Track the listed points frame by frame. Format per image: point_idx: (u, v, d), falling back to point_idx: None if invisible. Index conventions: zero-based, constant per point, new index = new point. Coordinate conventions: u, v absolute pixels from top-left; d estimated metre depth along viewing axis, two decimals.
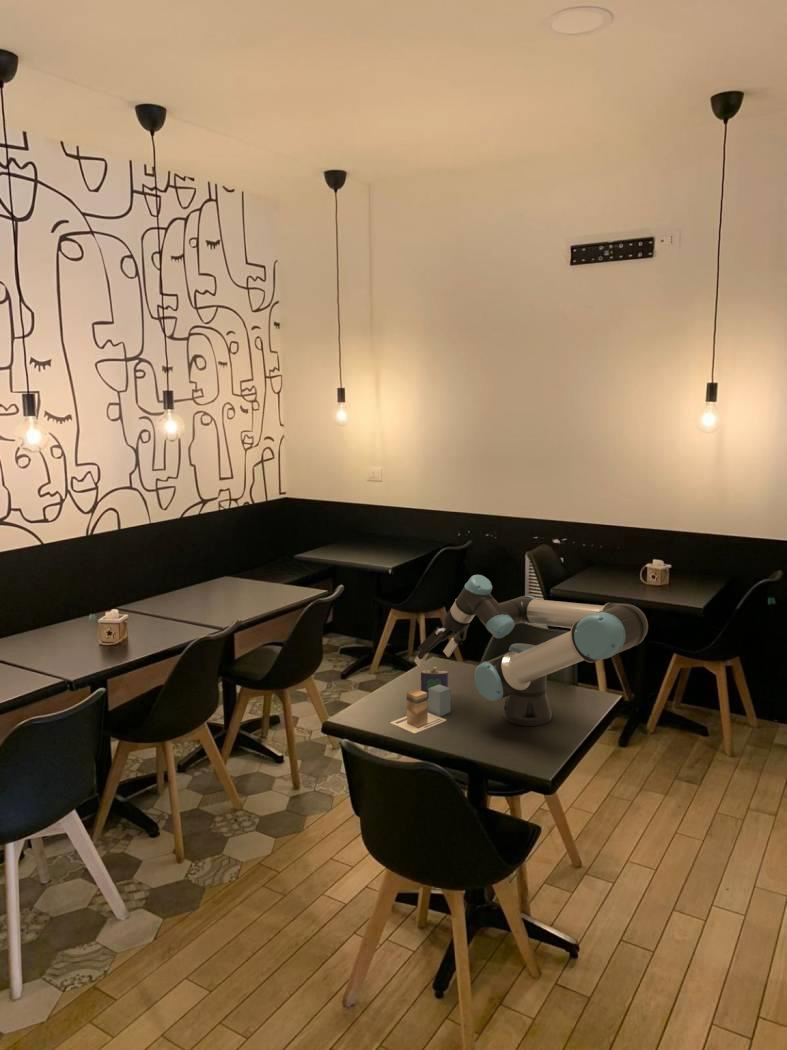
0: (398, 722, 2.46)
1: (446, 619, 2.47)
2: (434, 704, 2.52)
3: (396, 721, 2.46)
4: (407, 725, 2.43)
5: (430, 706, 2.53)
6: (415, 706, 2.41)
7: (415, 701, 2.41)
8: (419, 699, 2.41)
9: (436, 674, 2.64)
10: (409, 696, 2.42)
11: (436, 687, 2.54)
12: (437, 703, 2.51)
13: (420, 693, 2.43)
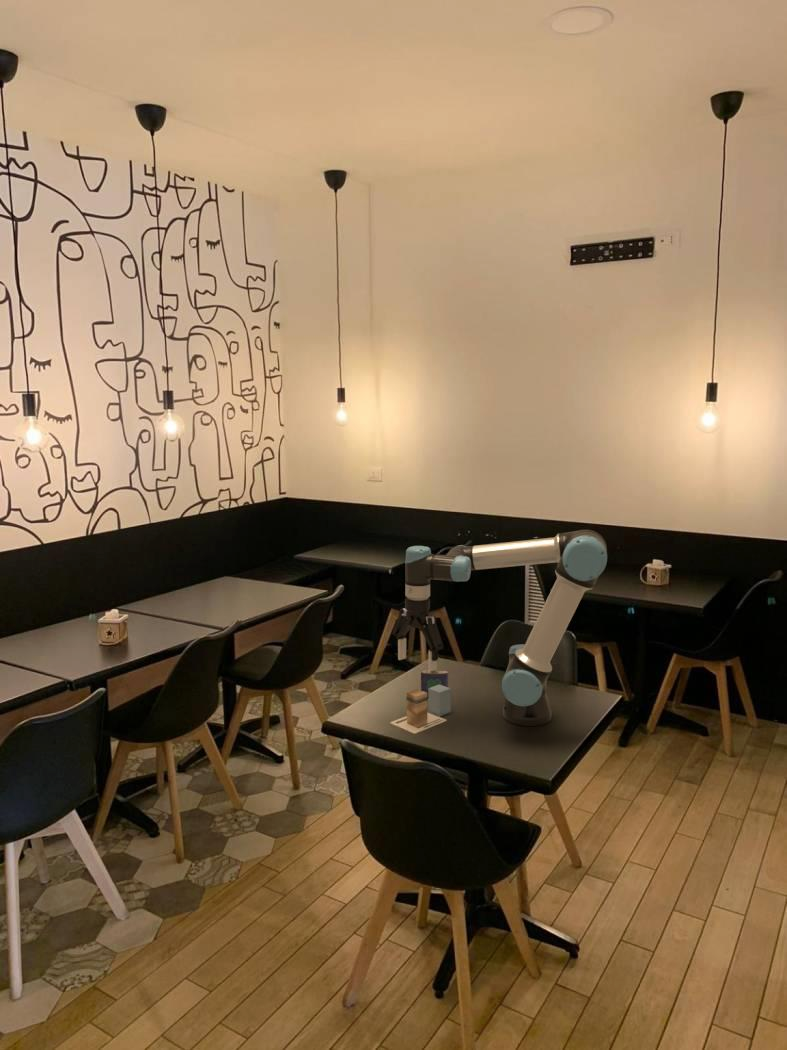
0: (398, 722, 2.46)
1: (421, 608, 2.36)
2: (434, 704, 2.52)
3: (396, 721, 2.46)
4: (407, 725, 2.43)
5: (430, 706, 2.53)
6: (415, 706, 2.41)
7: (415, 701, 2.41)
8: (419, 699, 2.41)
9: (436, 674, 2.64)
10: (409, 696, 2.42)
11: (436, 687, 2.54)
12: (437, 703, 2.51)
13: (420, 693, 2.43)
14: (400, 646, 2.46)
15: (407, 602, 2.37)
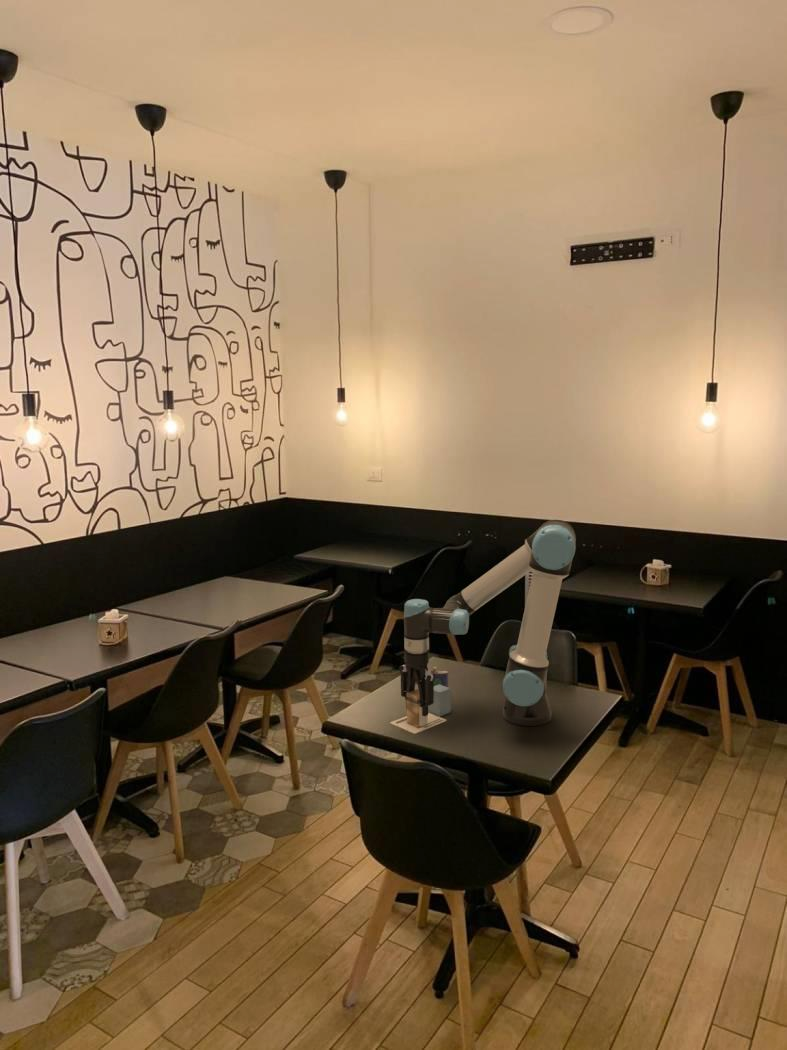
0: (398, 722, 2.46)
1: (421, 661, 2.38)
2: (434, 704, 2.52)
3: (396, 721, 2.46)
4: (407, 725, 2.43)
5: (430, 706, 2.53)
6: (415, 706, 2.41)
7: (415, 701, 2.41)
8: (419, 699, 2.41)
9: (436, 674, 2.64)
10: (409, 696, 2.42)
11: (436, 687, 2.54)
12: (437, 703, 2.51)
13: None
14: None
15: (406, 655, 2.39)
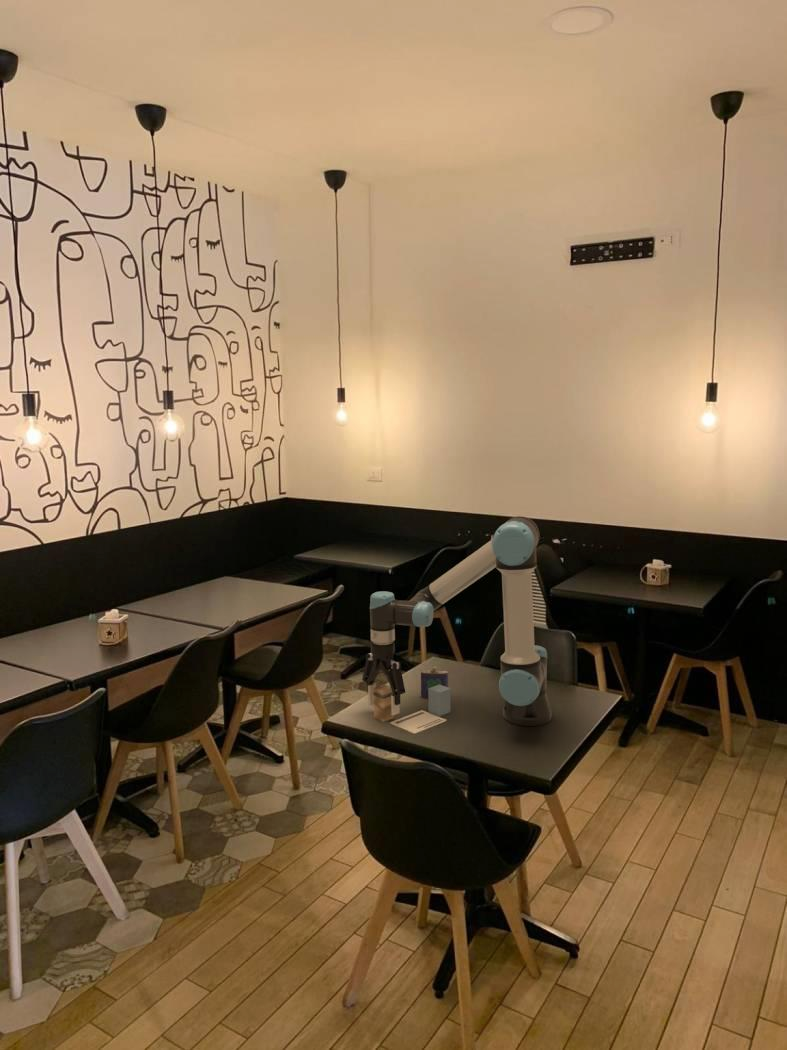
0: (398, 722, 2.46)
1: (386, 652, 2.43)
2: (434, 704, 2.52)
3: (396, 721, 2.46)
4: (407, 725, 2.43)
5: (430, 706, 2.53)
6: (381, 701, 2.46)
7: (381, 696, 2.46)
8: (385, 694, 2.46)
9: (436, 674, 2.64)
10: (375, 691, 2.48)
11: (436, 687, 2.54)
12: (437, 703, 2.51)
13: (386, 688, 2.48)
14: (370, 692, 2.52)
15: (372, 646, 2.44)
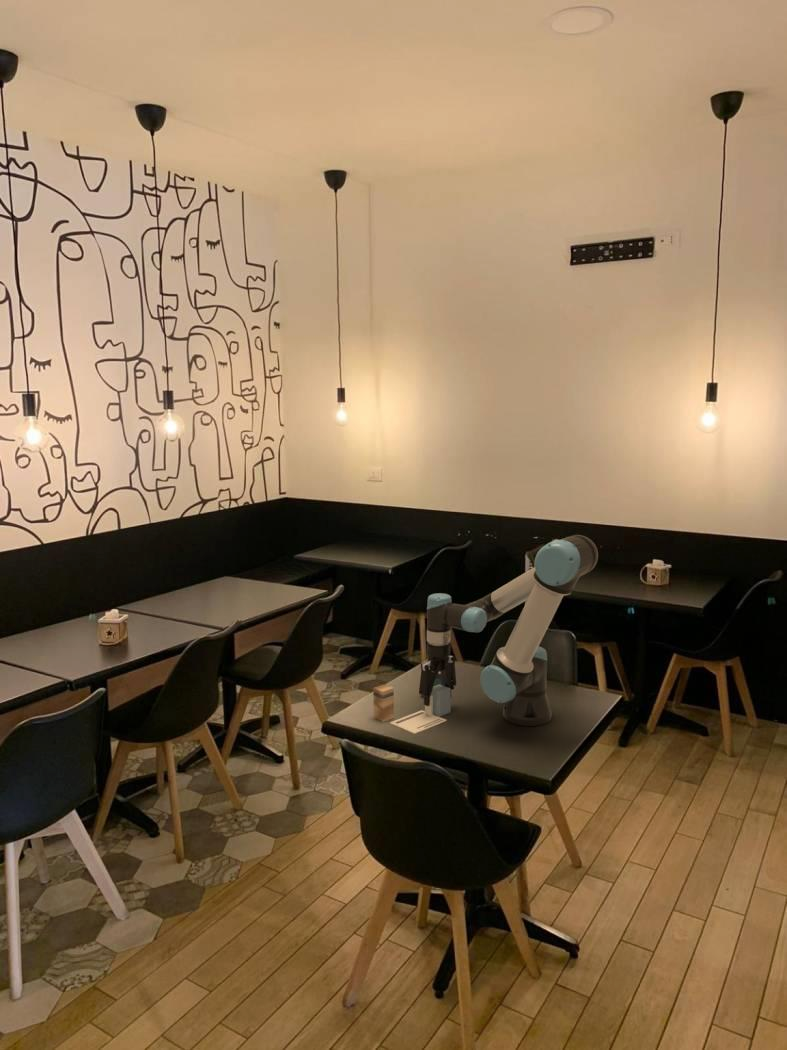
0: (398, 722, 2.46)
1: None
2: (434, 704, 2.52)
3: (396, 721, 2.46)
4: (407, 725, 2.43)
5: None
6: (381, 701, 2.46)
7: (381, 696, 2.46)
8: (385, 694, 2.46)
9: None
10: (375, 691, 2.48)
11: (436, 687, 2.54)
12: (437, 703, 2.51)
13: (386, 688, 2.48)
14: None
15: (445, 648, 2.47)
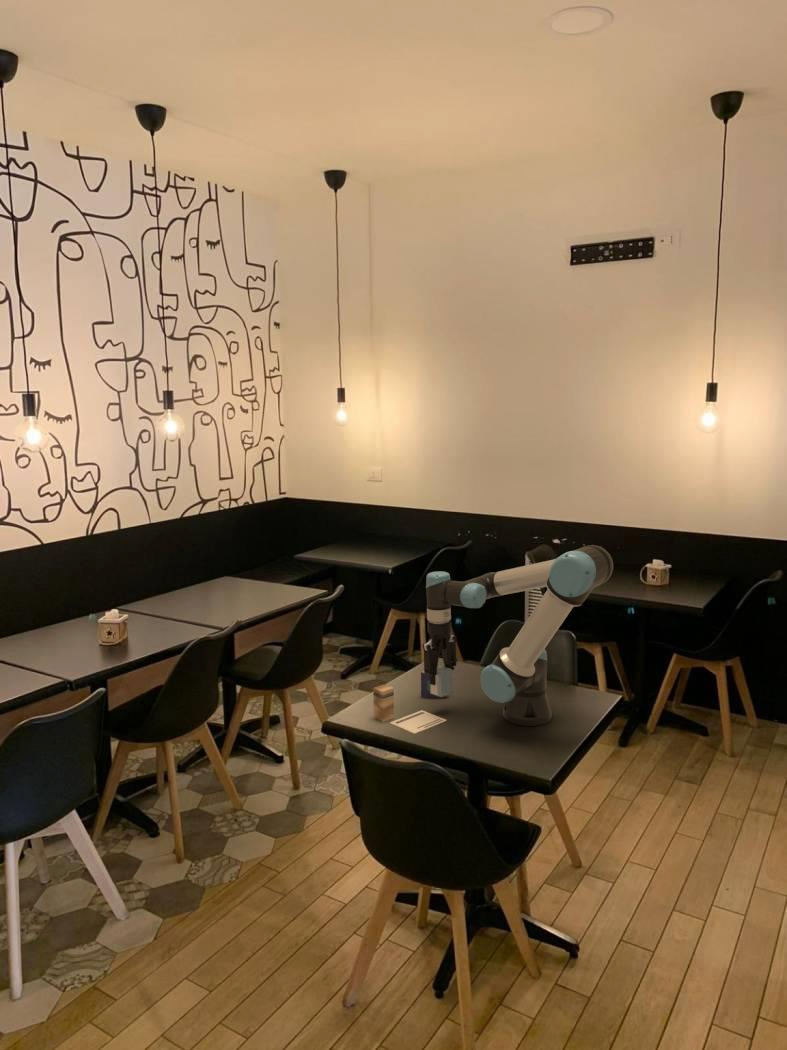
0: (398, 722, 2.46)
1: None
2: None
3: (396, 721, 2.46)
4: (407, 725, 2.43)
5: None
6: (381, 701, 2.46)
7: (381, 696, 2.46)
8: (385, 694, 2.46)
9: None
10: (375, 691, 2.48)
11: (437, 668, 2.52)
12: (439, 684, 2.49)
13: (386, 688, 2.48)
14: None
15: (446, 626, 2.46)
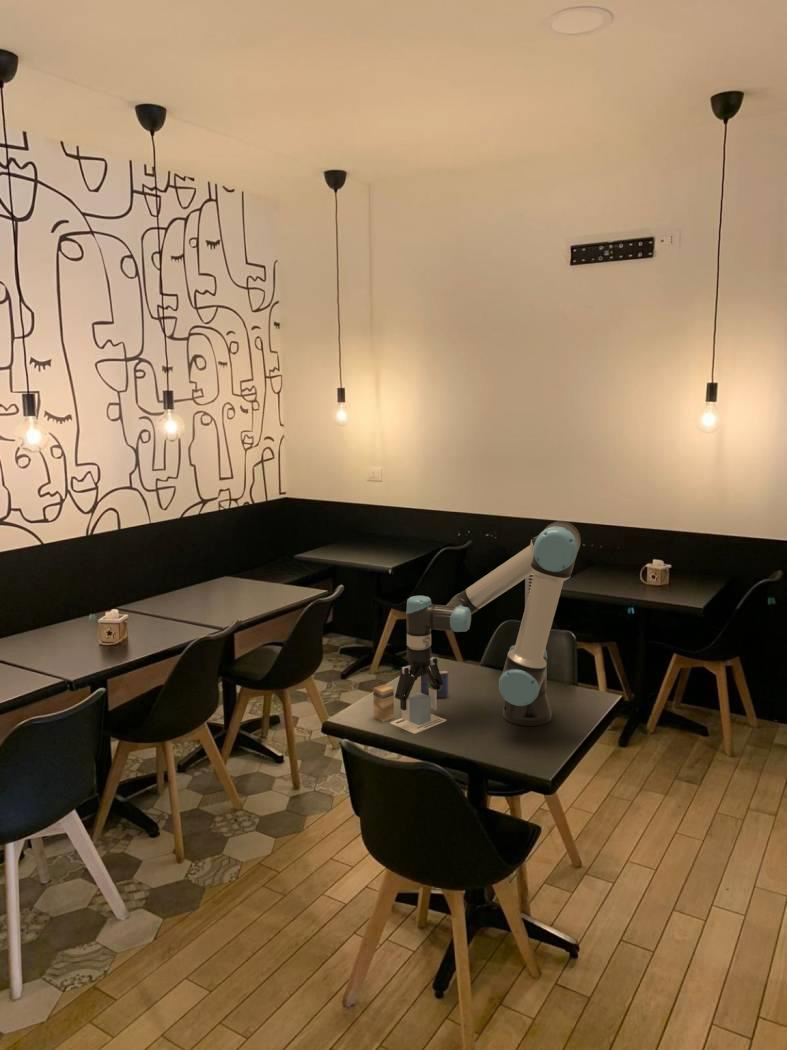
0: (398, 722, 2.46)
1: None
2: (413, 713, 2.44)
3: (396, 721, 2.46)
4: (407, 725, 2.43)
5: (410, 714, 2.46)
6: (381, 701, 2.46)
7: (381, 696, 2.46)
8: (385, 694, 2.46)
9: None
10: (375, 691, 2.48)
11: (416, 695, 2.46)
12: (417, 712, 2.43)
13: (386, 688, 2.48)
14: None
15: (426, 652, 2.40)
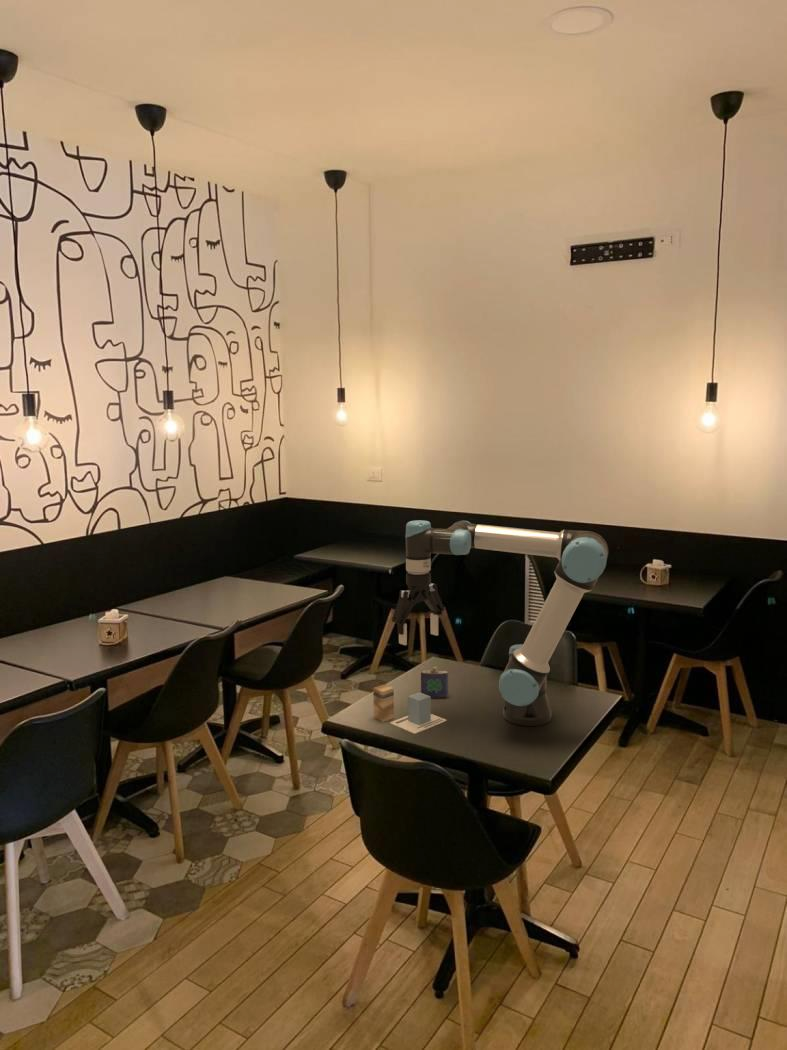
0: (398, 722, 2.46)
1: None
2: (413, 713, 2.44)
3: (396, 721, 2.46)
4: (407, 725, 2.43)
5: (410, 714, 2.46)
6: (381, 701, 2.46)
7: (381, 696, 2.46)
8: (385, 694, 2.46)
9: (436, 674, 2.64)
10: (375, 691, 2.48)
11: (416, 695, 2.46)
12: (417, 712, 2.43)
13: (386, 688, 2.48)
14: None
15: (425, 577, 2.36)
